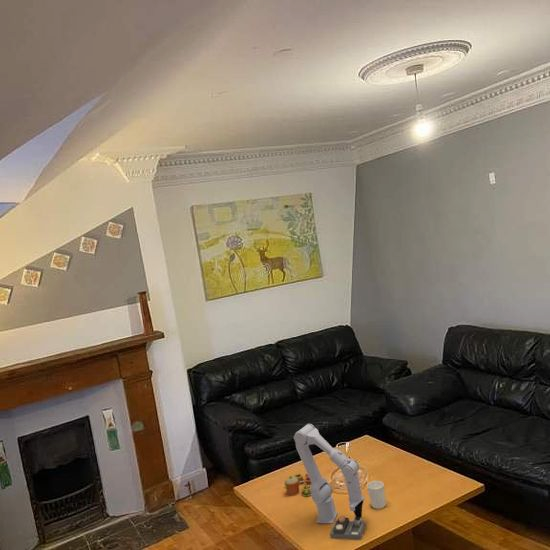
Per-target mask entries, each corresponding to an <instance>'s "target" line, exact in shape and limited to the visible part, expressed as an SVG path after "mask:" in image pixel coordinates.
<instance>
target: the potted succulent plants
mask: <svg viewBox="0 0 550 550" xmlns="http://www.w3.org/2000/svg"><path fill="white" fill-rule="evenodd" d="M303 483H304V485H303V486H302V487H301V490H302V491H301V492H300V488H299V487H300V485H301V484H303ZM310 487H311V481H310V478H309V476H308V475H307V476H305V477H304V478H303V474H302V473H301V472H298V473H296V474H294V475H289V477H288V478H286V480H284V486H283V488H284V489H285V490H286V492H287V494H288V495H289V496H291V497H292V496H296V495H298V494H299V492H300V493H301V496H302V497H310V496H311V491H310Z"/></svg>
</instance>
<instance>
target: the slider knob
mask: <svg viewBox="0 0 550 550" xmlns="http://www.w3.org/2000/svg"><path fill="white" fill-rule="evenodd" d="M352 521H353V525H354V527H360V526H361V523H362V521H363V519H362V517H356V516H354V517H353V519H352Z"/></svg>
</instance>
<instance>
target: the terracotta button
mask: <svg viewBox="0 0 550 550" xmlns="http://www.w3.org/2000/svg"><path fill="white" fill-rule="evenodd" d="M345 518H346V516H344V515H341V516H338V518H337V520H338V519H339V523H346V519H345Z"/></svg>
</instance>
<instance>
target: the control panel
mask: <svg viewBox="0 0 550 550" xmlns="http://www.w3.org/2000/svg"><path fill="white" fill-rule="evenodd" d="M345 519H346V523H339V519H338V518H337V520H334V521H335V522H334V523H333V526H332V528H331V530H330V532H329V536H330V539H341V540H342V539H343V540H344V539H345V540H359V539H361V538H362V537H363V536H364V533H365V531H366V528H365V527H367V525H366V521H365V520H363V519H362V523H361V526H360V527H354V525H353V520H352V521H350V519H349V517H345ZM338 524H341V525H343V530H338V529H336V525H338ZM363 532H364V533H363ZM362 535H363V536H362ZM362 539H363V538H362ZM362 539H361V540H362Z"/></svg>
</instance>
